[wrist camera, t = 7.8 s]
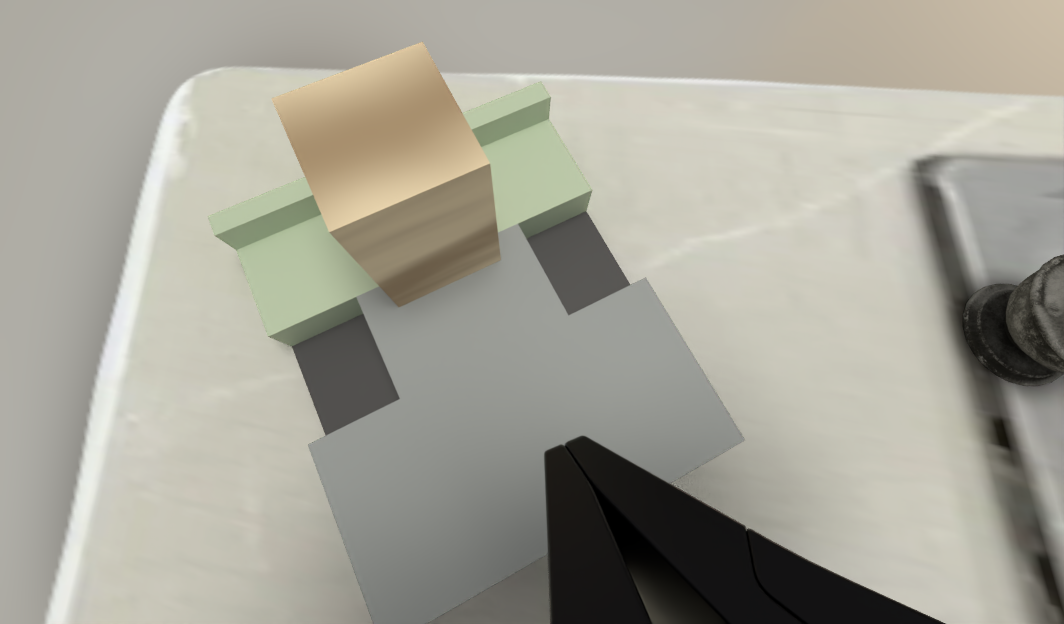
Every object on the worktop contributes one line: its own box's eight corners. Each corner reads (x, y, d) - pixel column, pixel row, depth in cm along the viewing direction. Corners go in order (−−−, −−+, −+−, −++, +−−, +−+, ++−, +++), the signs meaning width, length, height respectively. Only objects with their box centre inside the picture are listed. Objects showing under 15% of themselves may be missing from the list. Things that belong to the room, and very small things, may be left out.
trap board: (719, 439, 21) (763, 440, 17) (400, 622, 19) (369, 669, 15) (537, 135, 25) (541, 81, 21) (259, 253, 23) (207, 216, 19)
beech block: (500, 260, 21) (490, 163, 13) (398, 307, 20) (329, 232, 13) (455, 173, 22) (422, 41, 14) (357, 215, 21) (271, 98, 14)
